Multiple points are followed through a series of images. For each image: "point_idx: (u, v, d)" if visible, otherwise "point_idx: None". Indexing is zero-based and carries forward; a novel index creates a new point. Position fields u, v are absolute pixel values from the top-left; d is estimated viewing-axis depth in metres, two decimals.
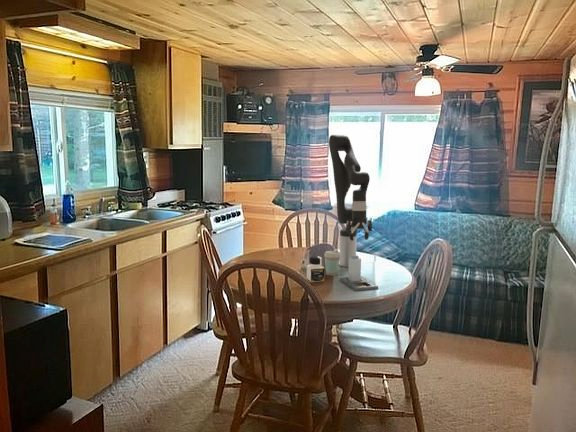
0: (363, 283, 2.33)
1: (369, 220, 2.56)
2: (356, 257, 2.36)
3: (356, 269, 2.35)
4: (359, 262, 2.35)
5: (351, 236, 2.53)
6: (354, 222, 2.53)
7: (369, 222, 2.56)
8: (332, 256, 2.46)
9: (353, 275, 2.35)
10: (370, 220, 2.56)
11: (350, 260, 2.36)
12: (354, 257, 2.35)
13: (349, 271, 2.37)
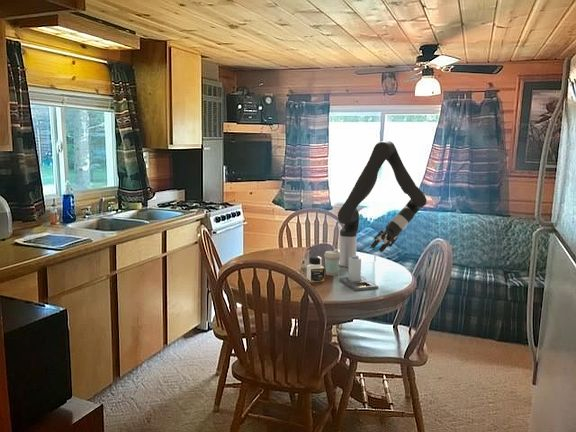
0: (363, 283, 2.33)
1: None
2: (356, 257, 2.36)
3: (356, 269, 2.35)
4: (359, 262, 2.35)
5: None
6: None
7: None
8: (332, 256, 2.46)
9: (353, 275, 2.35)
10: None
11: (350, 260, 2.36)
12: (354, 257, 2.35)
13: (349, 271, 2.37)
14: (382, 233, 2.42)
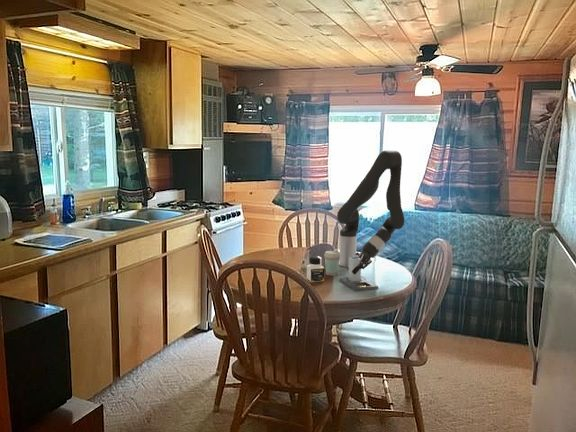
0: (363, 283, 2.33)
1: None
2: (356, 257, 2.36)
3: None
4: None
5: (357, 271, 2.34)
6: None
7: None
8: (332, 256, 2.46)
9: (353, 275, 2.35)
10: None
11: (350, 260, 2.36)
12: (354, 257, 2.35)
13: (349, 271, 2.37)
14: (358, 254, 2.39)
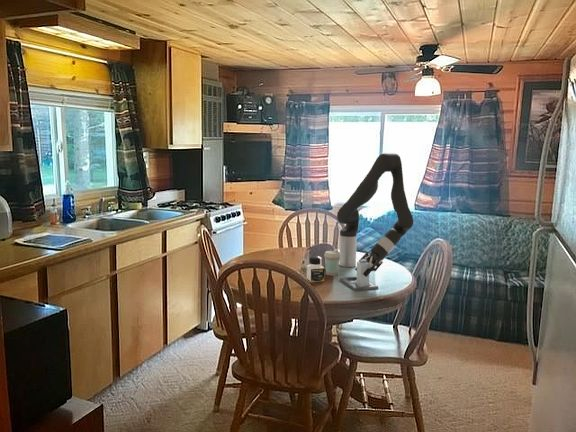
0: None
1: None
2: (364, 261, 2.27)
3: None
4: (368, 266, 2.26)
5: None
6: None
7: None
8: (332, 256, 2.46)
9: (361, 280, 2.26)
10: None
11: (358, 264, 2.28)
12: (362, 261, 2.27)
13: (357, 276, 2.29)
14: (367, 256, 2.31)
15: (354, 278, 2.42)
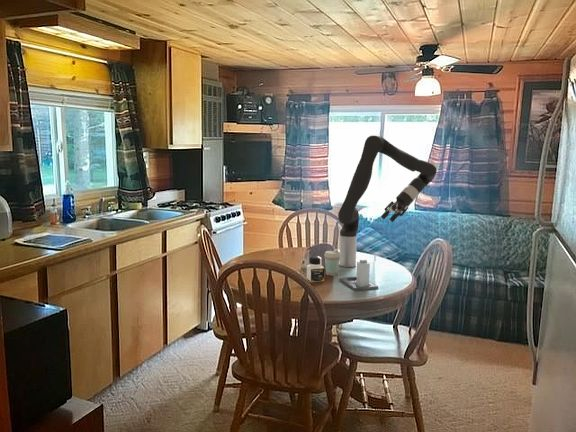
0: None
1: None
2: (364, 261, 2.27)
3: (364, 274, 2.26)
4: (368, 266, 2.26)
5: (395, 218, 2.36)
6: None
7: None
8: (332, 256, 2.46)
9: (361, 280, 2.26)
10: None
11: (358, 264, 2.28)
12: (362, 261, 2.27)
13: (357, 276, 2.29)
14: (393, 204, 2.43)
15: (354, 278, 2.42)
